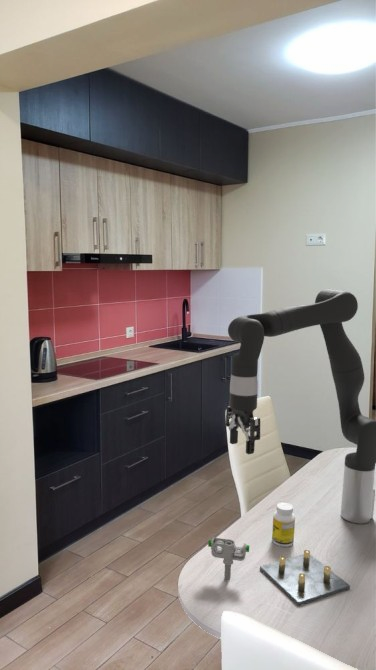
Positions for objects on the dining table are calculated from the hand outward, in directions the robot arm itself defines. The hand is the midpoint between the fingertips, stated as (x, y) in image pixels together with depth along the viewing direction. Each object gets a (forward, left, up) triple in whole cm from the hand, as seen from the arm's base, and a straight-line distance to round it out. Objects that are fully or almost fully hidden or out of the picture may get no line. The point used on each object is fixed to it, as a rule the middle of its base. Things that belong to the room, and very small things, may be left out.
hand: (241, 448), depth 144 cm
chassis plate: (-8, +20, -29) cm, 36 cm away
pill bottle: (-14, +3, -29) cm, 33 cm away
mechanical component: (+10, +12, -29) cm, 33 cm away
